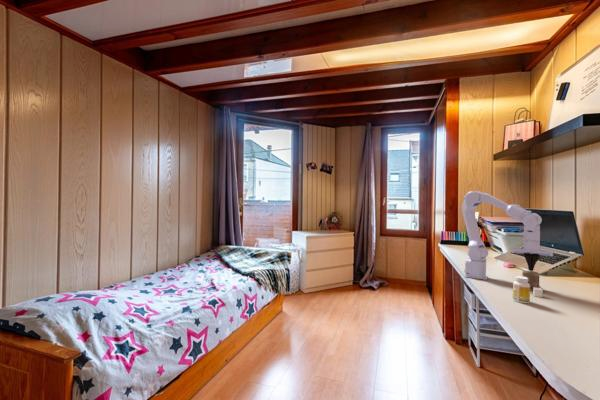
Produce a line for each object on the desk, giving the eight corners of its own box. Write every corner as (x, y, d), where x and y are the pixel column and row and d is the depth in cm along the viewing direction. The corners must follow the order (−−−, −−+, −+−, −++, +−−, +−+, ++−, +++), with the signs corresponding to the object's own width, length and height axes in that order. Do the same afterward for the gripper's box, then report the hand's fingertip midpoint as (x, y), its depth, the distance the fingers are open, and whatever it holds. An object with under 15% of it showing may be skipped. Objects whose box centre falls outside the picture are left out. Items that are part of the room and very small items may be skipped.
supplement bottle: (509, 299, 114) (510, 276, 114) (517, 297, 116) (517, 274, 116) (525, 304, 109) (525, 280, 109) (532, 302, 111) (533, 278, 111)
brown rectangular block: (524, 287, 127) (524, 272, 126) (522, 284, 131) (522, 270, 131) (539, 289, 124) (539, 274, 124) (536, 286, 128) (537, 271, 128)
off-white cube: (534, 296, 118) (534, 289, 118) (533, 294, 120) (533, 287, 120) (542, 297, 117) (542, 290, 117) (541, 295, 119) (541, 288, 119)
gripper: (512, 240, 127) (512, 269, 128) (555, 243, 120) (554, 274, 120) (510, 237, 133) (510, 266, 134) (550, 240, 126) (550, 270, 126)
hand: (530, 270), depth 127 cm, fingers closed
